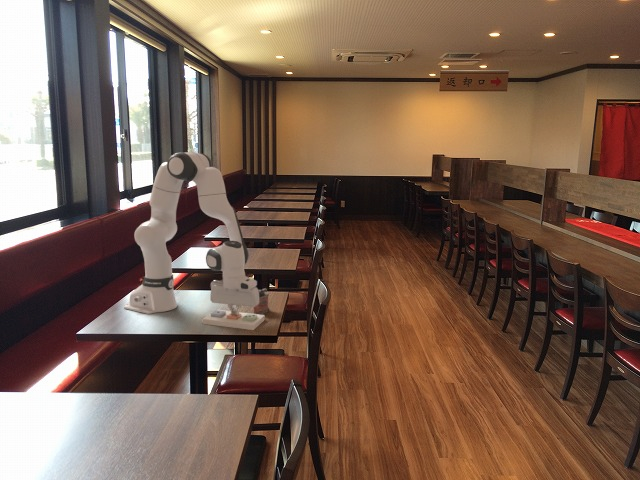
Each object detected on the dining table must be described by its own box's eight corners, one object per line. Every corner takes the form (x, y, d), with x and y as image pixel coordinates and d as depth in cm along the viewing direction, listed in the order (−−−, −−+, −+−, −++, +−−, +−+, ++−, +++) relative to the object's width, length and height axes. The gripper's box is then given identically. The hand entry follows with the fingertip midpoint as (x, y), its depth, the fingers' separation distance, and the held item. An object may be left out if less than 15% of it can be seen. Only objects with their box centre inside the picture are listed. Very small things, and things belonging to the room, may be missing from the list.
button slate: (211, 320, 207) (210, 313, 207) (216, 316, 212) (215, 309, 211) (220, 321, 206) (220, 314, 206) (225, 318, 210) (225, 311, 210)
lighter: (257, 315, 214) (257, 292, 212) (251, 313, 216) (251, 291, 214) (270, 310, 221) (270, 288, 219) (264, 309, 223) (264, 286, 221)
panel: (202, 323, 204) (202, 318, 204) (216, 313, 216) (216, 309, 215) (253, 330, 198) (253, 325, 198) (264, 319, 210) (264, 315, 209)
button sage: (242, 324, 204) (242, 317, 203) (247, 320, 208) (247, 313, 207) (252, 325, 202) (252, 318, 202) (257, 322, 207) (257, 314, 206)
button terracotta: (226, 323, 206) (226, 315, 205) (231, 319, 210) (231, 312, 209) (236, 324, 204) (236, 317, 204) (241, 320, 208) (241, 313, 208)
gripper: (206, 281, 204) (208, 314, 206) (254, 286, 198) (255, 319, 201) (214, 277, 210) (215, 309, 212) (260, 281, 204) (261, 314, 207)
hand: (235, 314), depth 207 cm, fingers closed, pressing on button terracotta
